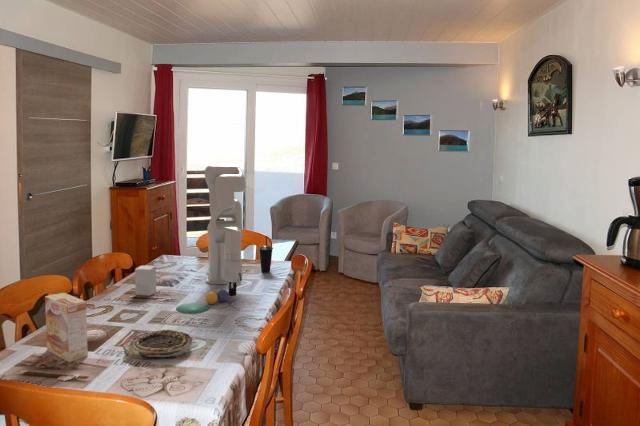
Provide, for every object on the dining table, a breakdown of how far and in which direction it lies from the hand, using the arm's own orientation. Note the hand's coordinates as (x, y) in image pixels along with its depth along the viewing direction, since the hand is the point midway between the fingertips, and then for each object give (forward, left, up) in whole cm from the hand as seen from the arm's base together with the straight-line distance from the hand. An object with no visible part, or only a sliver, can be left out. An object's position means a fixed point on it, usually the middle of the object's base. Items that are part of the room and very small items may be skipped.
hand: (232, 295), depth 255 cm
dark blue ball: (0, -6, +1) cm, 6 cm away
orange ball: (0, -11, +1) cm, 12 cm away
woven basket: (+32, -55, -3) cm, 64 cm away
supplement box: (-33, -25, -2) cm, 42 cm away
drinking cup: (-28, +45, -2) cm, 53 cm away
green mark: (0, -21, -2) cm, 21 cm away
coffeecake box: (+13, -80, -2) cm, 81 cm away
